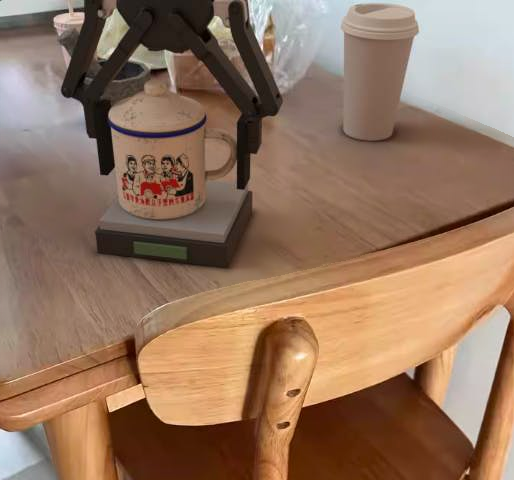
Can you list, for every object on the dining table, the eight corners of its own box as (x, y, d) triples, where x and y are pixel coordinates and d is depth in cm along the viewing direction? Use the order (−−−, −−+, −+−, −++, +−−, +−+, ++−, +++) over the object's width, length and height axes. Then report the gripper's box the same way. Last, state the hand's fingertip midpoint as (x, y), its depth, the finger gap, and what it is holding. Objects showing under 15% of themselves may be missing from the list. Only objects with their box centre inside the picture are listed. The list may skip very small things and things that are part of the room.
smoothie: (63, 80, 112) (49, -21, 103) (105, 78, 113) (95, -22, 104) (62, 94, 107) (47, -11, 98) (106, 92, 108) (95, -11, 99)
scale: (96, 254, 71) (92, 223, 69) (136, 199, 80) (134, 170, 78) (226, 270, 69) (226, 238, 67) (252, 211, 79) (252, 181, 77)
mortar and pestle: (154, 109, 102) (148, 18, 95) (152, 135, 95) (146, 38, 88) (73, 110, 102) (60, 18, 94) (65, 136, 94) (50, 38, 87)
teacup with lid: (111, 222, 69) (97, 99, 62) (121, 181, 76) (110, 66, 69) (238, 222, 69) (238, 100, 62) (236, 181, 77) (237, 67, 70)
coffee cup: (380, 115, 102) (395, -1, 93) (417, 139, 95) (437, 17, 86) (319, 123, 99) (328, 4, 90) (353, 149, 92) (366, 23, 83)
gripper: (323, -71, 59) (307, 173, 72) (35, -87, 63) (69, 149, 76) (311, -56, 54) (295, 207, 67) (-6, -74, 57) (38, 179, 70)
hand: (175, 177), depth 71 cm, fingers open, 13 cm apart
